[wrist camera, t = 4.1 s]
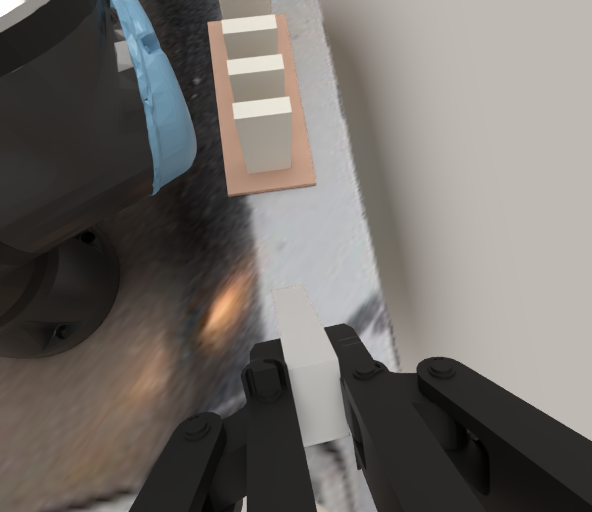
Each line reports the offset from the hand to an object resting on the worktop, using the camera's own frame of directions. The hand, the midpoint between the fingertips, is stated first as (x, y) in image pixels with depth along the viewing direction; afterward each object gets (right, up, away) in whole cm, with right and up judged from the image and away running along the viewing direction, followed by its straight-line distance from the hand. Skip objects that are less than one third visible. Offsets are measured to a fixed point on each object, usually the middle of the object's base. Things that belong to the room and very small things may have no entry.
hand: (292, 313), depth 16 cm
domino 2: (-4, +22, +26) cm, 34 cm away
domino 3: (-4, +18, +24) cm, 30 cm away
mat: (-4, +22, +26) cm, 34 cm away
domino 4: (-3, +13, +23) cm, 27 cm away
